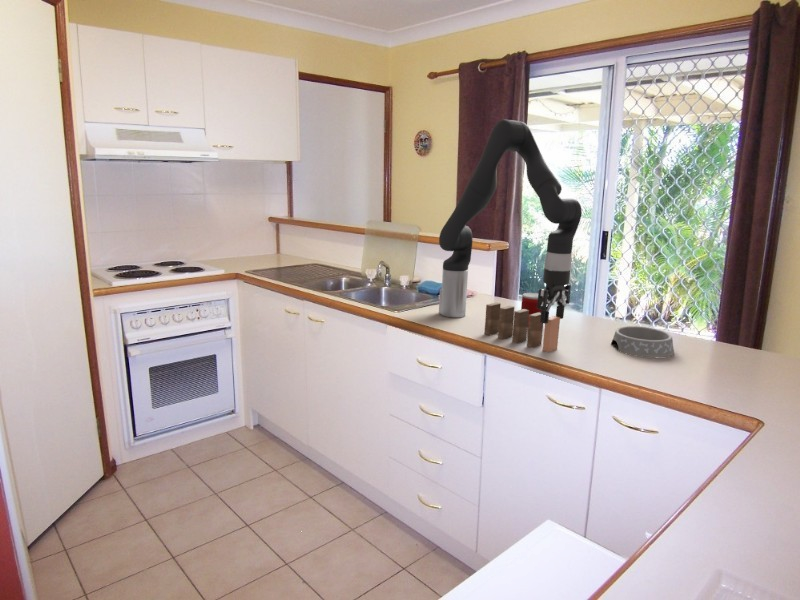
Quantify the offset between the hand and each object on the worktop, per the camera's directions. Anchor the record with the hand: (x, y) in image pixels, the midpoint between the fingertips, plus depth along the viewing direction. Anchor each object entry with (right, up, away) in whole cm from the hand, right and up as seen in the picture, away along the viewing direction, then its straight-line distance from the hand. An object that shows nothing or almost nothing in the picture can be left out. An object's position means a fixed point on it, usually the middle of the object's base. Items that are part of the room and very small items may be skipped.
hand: (551, 320), depth 163 cm
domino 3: (-8, -7, +10) cm, 14 cm away
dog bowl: (+30, -9, +6) cm, 32 cm away
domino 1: (-15, -5, +17) cm, 24 cm away
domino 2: (-11, -6, +14) cm, 19 cm away
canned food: (+1, -3, +28) cm, 28 cm away
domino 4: (-4, -8, +6) cm, 11 cm away
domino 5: (0, -9, +2) cm, 9 cm away
